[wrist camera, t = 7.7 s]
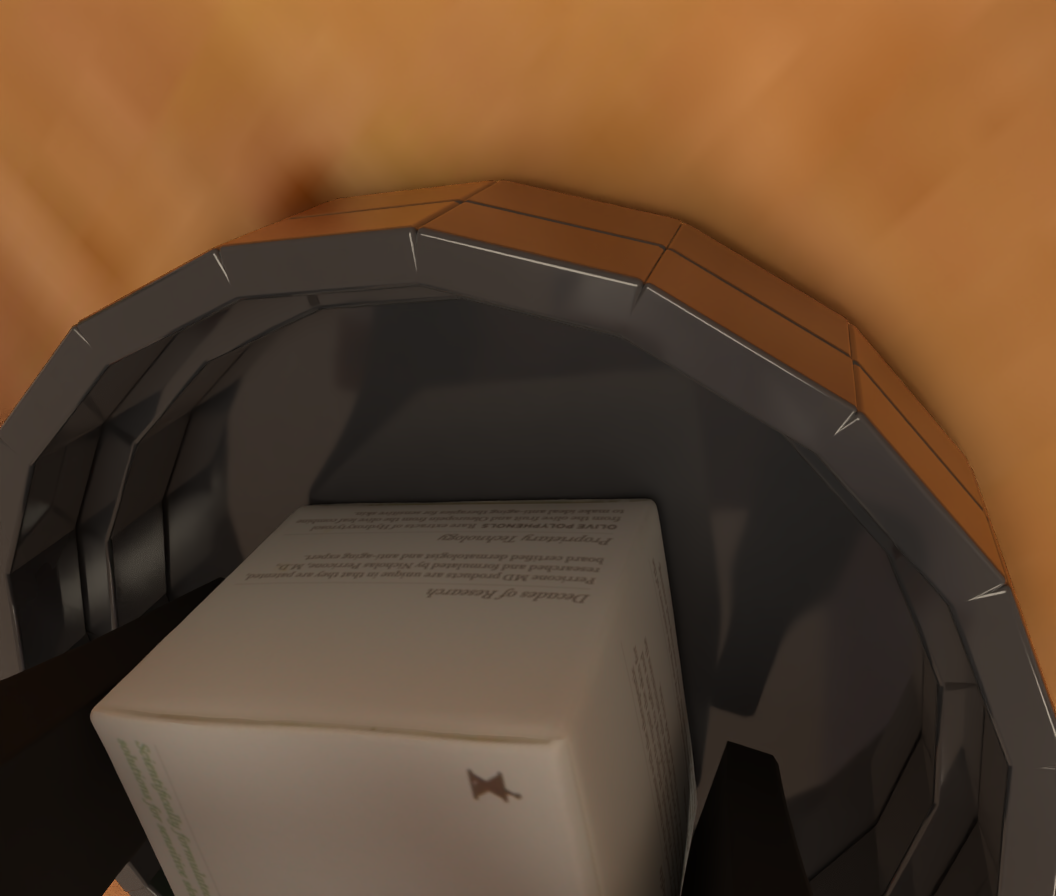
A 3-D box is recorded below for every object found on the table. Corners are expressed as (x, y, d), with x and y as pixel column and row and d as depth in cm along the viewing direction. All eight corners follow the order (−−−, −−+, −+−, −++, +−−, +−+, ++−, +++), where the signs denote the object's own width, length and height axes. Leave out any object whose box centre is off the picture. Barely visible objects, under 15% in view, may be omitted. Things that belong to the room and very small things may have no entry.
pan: (1224, 329, 10) (1382, 456, 7) (822, 1045, 17) (824, 1253, 14) (98, 79, 12) (-110, 101, 10) (147, 791, 19) (34, 925, 16)
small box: (293, 494, 14) (63, 712, 10) (664, 484, 12) (583, 746, 8) (381, 778, 16) (225, 1055, 12) (706, 805, 14) (659, 1145, 10)
